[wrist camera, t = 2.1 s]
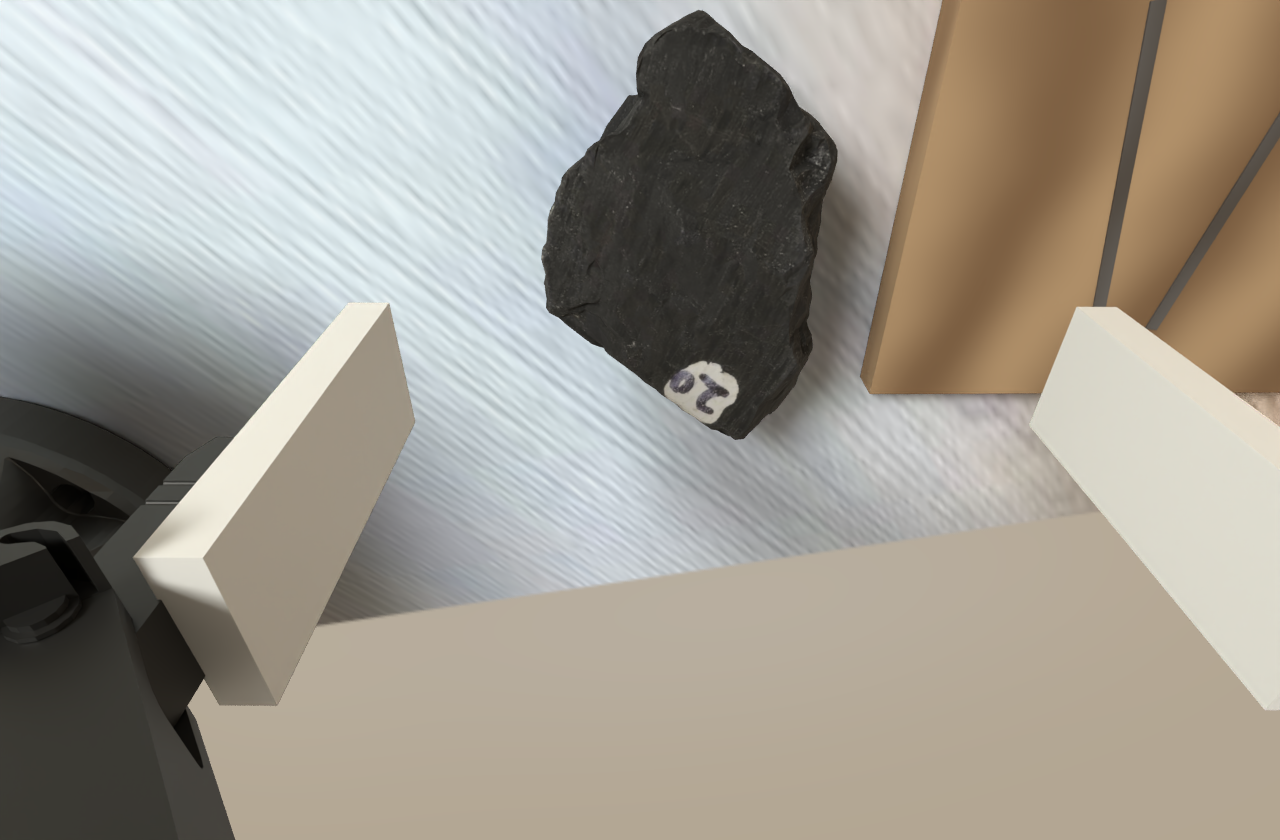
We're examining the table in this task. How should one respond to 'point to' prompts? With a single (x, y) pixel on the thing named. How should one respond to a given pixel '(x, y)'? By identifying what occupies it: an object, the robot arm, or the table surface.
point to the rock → (696, 229)
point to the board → (1086, 192)
